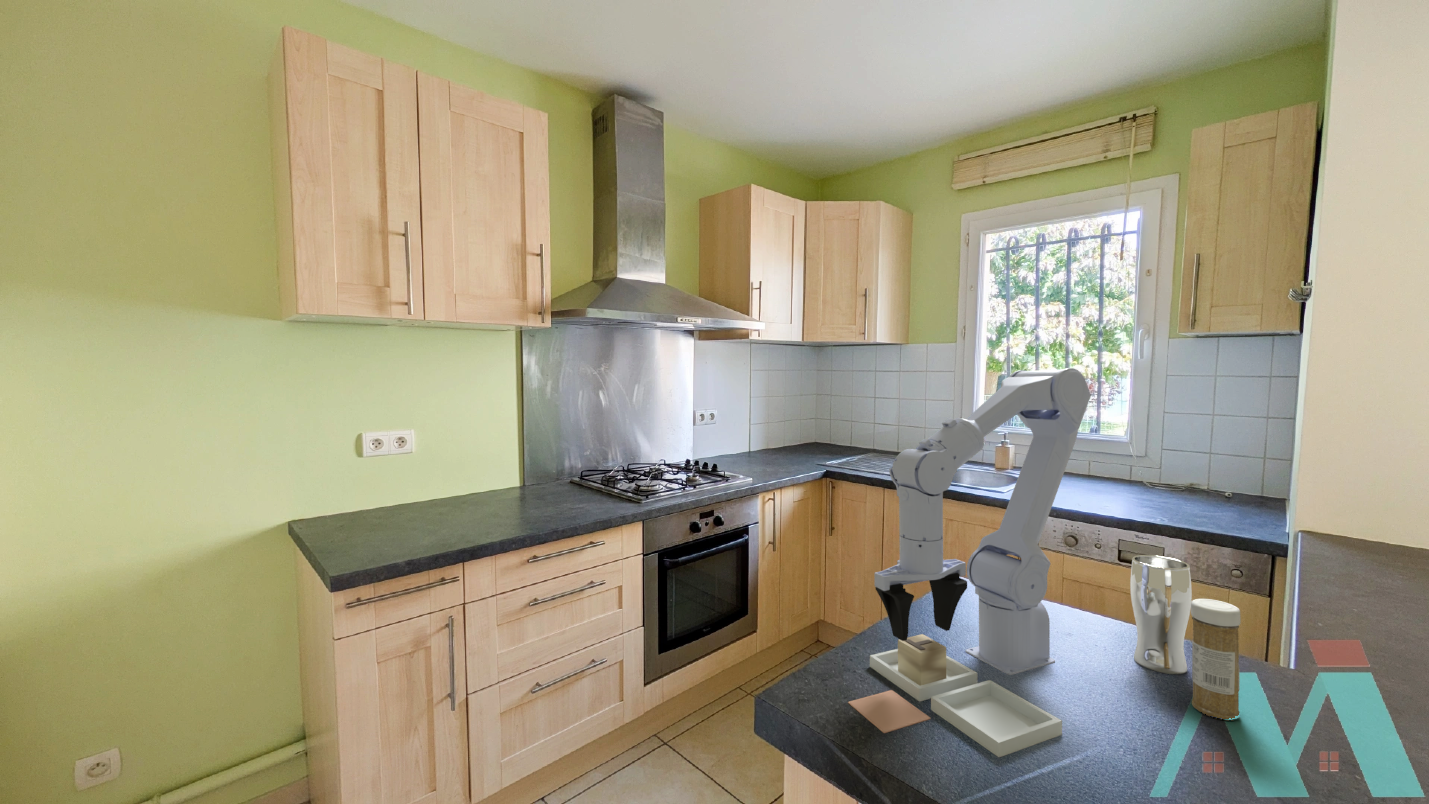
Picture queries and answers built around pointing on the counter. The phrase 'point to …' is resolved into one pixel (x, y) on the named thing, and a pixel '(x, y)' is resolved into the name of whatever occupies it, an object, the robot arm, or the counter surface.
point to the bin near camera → (996, 717)
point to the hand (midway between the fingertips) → (921, 632)
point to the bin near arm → (954, 680)
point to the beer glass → (1161, 611)
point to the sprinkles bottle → (1215, 658)
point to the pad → (888, 711)
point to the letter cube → (922, 659)
